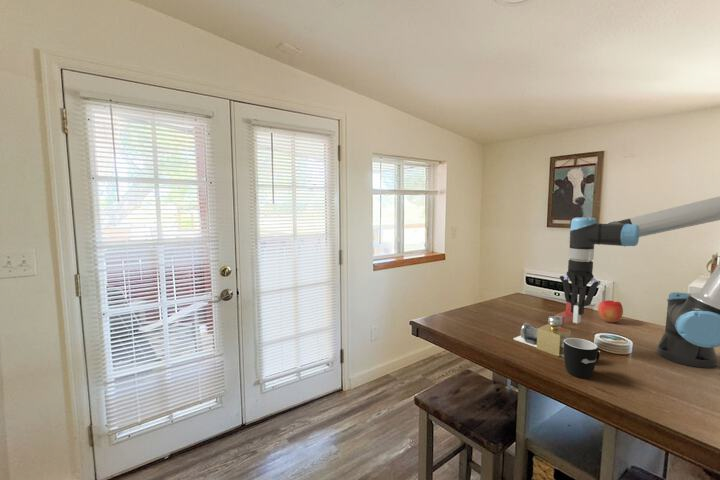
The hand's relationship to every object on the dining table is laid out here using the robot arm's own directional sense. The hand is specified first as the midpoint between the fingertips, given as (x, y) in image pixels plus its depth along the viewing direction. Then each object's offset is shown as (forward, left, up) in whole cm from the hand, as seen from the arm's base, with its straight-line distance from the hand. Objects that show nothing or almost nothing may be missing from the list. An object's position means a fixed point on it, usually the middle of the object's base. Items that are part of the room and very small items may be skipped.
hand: (576, 322), depth 123 cm
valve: (+4, +7, -11) cm, 14 cm away
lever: (+4, +1, -1) cm, 5 cm away
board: (+6, +3, -11) cm, 12 cm away
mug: (-10, +17, -11) cm, 22 cm away
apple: (+4, -45, -11) cm, 46 cm away
